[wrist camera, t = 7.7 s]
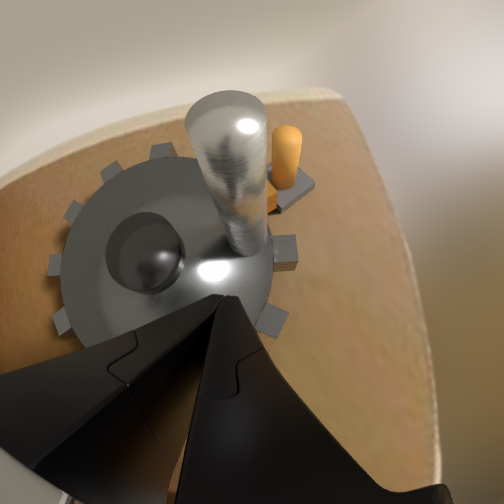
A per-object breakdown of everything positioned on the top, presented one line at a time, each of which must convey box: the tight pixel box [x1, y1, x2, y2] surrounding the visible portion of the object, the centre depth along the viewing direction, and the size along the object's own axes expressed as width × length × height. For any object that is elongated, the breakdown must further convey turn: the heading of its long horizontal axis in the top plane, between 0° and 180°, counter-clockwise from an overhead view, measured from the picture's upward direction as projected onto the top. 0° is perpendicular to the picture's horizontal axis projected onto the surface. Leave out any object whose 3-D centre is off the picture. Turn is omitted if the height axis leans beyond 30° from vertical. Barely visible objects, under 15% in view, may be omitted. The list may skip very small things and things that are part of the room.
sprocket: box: [48, 90, 298, 348], centre depth 11 cm, size 15×15×11 cm
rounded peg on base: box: [267, 125, 315, 213], centre depth 17 cm, size 3×3×5 cm
